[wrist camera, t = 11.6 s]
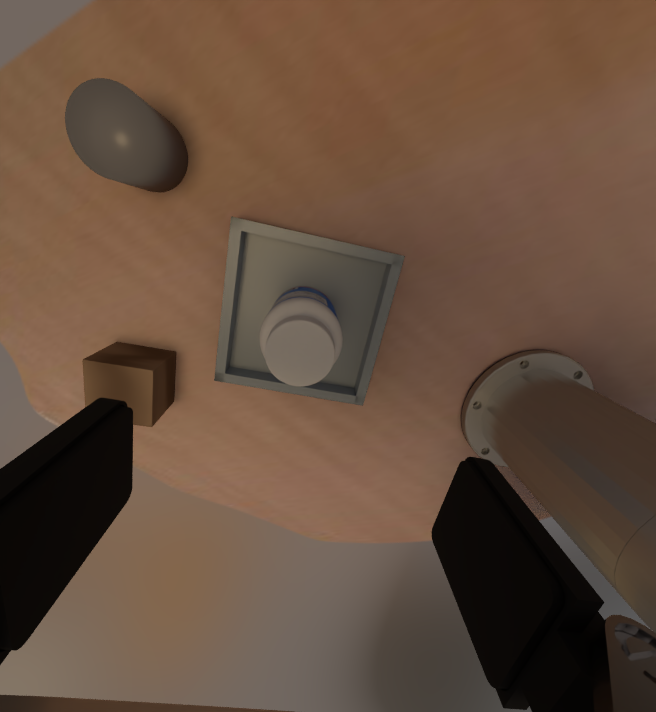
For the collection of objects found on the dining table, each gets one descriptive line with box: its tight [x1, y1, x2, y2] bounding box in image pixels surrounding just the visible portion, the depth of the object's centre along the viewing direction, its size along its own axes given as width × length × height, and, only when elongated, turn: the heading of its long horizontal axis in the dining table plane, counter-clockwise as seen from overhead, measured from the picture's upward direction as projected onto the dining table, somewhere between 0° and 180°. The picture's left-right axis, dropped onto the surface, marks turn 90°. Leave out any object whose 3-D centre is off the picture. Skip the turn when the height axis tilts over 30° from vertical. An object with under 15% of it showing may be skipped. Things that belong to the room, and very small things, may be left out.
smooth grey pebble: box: [65, 78, 188, 192], centre depth 21 cm, size 5×5×5 cm
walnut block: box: [83, 342, 176, 427], centre depth 27 cm, size 5×5×4 cm
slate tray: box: [214, 217, 405, 406], centre depth 27 cm, size 13×13×2 cm
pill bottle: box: [260, 286, 343, 387], centre depth 22 cm, size 6×5×10 cm
